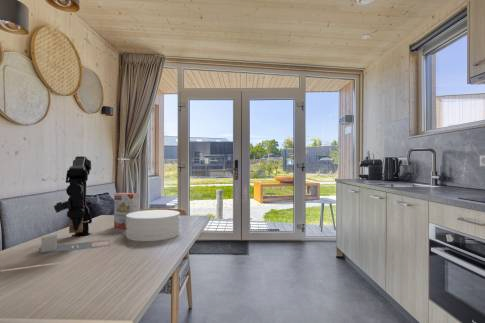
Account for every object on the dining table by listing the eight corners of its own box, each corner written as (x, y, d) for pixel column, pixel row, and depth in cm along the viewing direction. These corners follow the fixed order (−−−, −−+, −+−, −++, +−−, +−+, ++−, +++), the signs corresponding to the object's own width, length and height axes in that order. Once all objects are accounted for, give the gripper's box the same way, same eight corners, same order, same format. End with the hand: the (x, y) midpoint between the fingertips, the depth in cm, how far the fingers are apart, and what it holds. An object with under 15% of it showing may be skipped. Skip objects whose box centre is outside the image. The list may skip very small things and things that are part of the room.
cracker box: (113, 227, 167) (113, 193, 167) (120, 225, 172) (120, 192, 173) (132, 229, 163) (133, 194, 163) (139, 227, 168) (139, 193, 169)
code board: (35, 256, 112) (35, 254, 112) (40, 248, 123) (40, 247, 123) (110, 247, 126) (110, 245, 126) (109, 240, 136) (109, 239, 136)
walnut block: (69, 233, 121) (69, 219, 121) (69, 230, 125) (70, 217, 125) (82, 232, 123) (82, 218, 124) (82, 229, 128) (82, 216, 128)
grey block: (41, 252, 116) (41, 237, 116) (42, 249, 120) (43, 235, 121) (55, 250, 118) (55, 236, 119) (56, 247, 123) (56, 234, 123)
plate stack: (114, 237, 145) (114, 215, 145) (154, 227, 169) (154, 208, 170) (152, 244, 131) (153, 220, 132) (189, 232, 156) (190, 212, 157)
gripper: (57, 194, 129) (57, 227, 129) (52, 197, 113) (52, 235, 112) (84, 193, 134) (84, 224, 134) (84, 196, 118) (83, 232, 118)
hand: (76, 229), depth 124 cm, fingers closed on walnut block, 5 cm apart
